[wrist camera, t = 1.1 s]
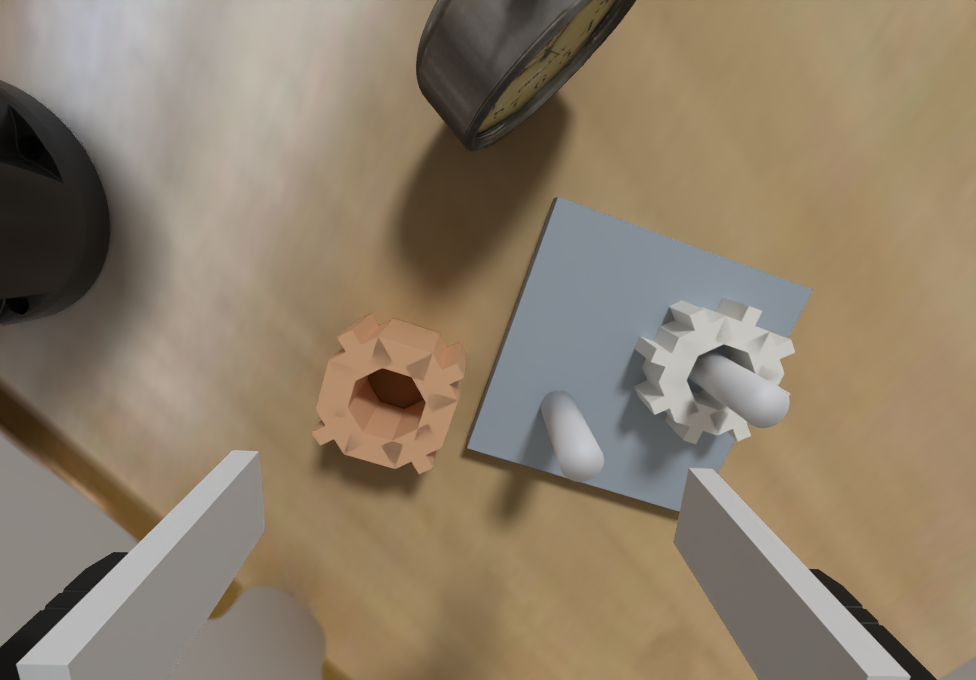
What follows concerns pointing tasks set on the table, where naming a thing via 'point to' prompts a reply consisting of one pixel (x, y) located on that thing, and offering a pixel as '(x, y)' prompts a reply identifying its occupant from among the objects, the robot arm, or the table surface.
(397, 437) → the loose gear
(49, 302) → the robot arm
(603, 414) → the gear board
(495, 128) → the alarm clock
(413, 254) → the table surface
